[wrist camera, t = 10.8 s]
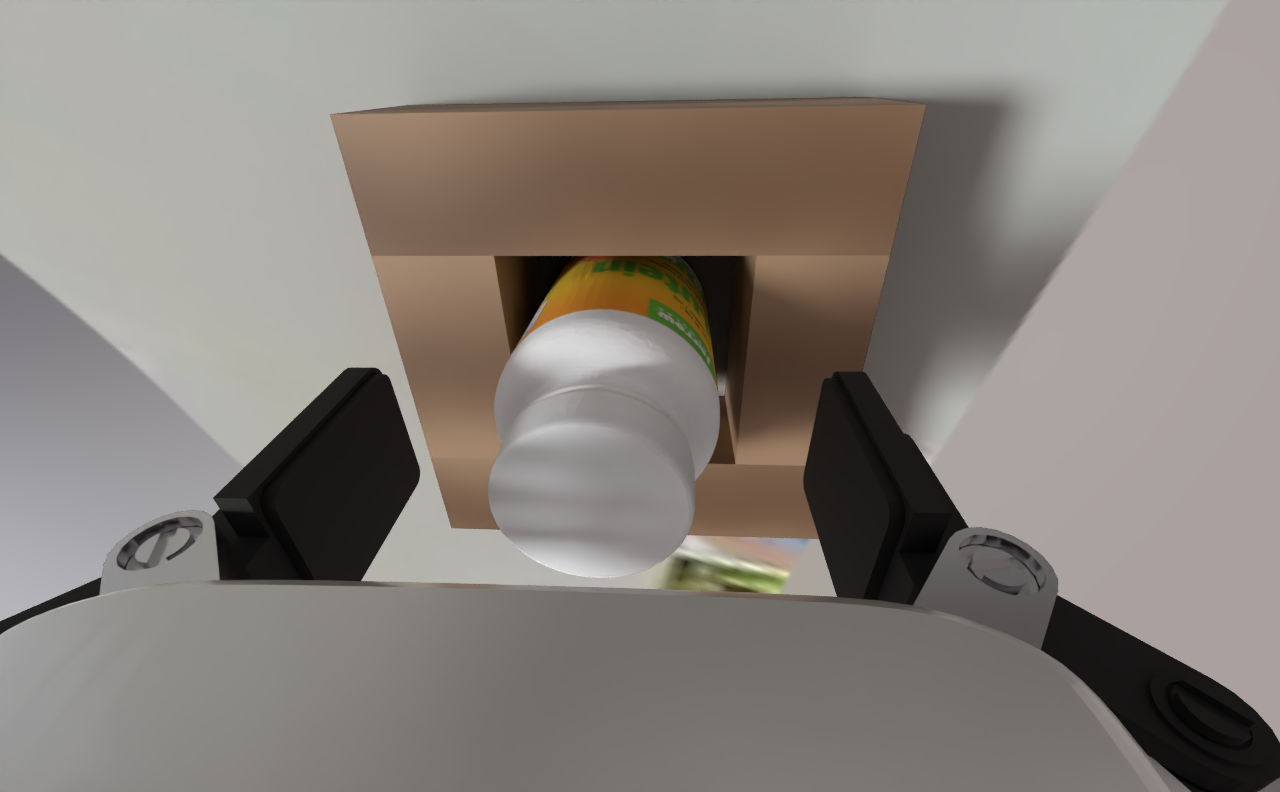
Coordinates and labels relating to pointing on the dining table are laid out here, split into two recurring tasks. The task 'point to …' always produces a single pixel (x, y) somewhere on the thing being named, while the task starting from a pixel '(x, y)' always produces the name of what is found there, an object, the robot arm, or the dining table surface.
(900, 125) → the socket block
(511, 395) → the supplement bottle
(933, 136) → the dining table surface
